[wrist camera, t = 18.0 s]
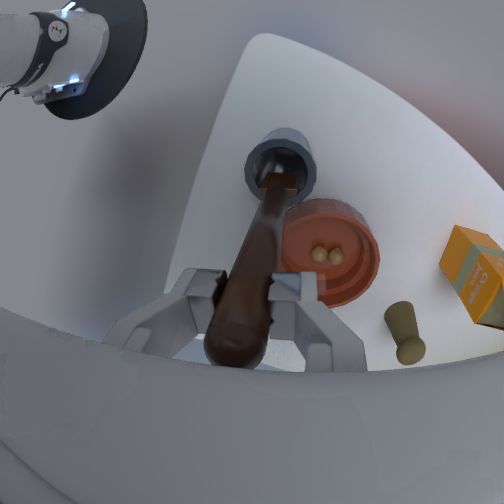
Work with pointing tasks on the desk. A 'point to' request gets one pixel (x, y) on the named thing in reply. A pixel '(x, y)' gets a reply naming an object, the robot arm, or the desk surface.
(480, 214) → the desk surface
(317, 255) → the bead
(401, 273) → the desk surface
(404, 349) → the olive game pawn
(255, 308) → the stir paddle
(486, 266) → the orange juice
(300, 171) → the crock
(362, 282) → the bowl
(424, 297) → the desk surface
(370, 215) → the desk surface
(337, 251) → the bead
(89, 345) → the robot arm
